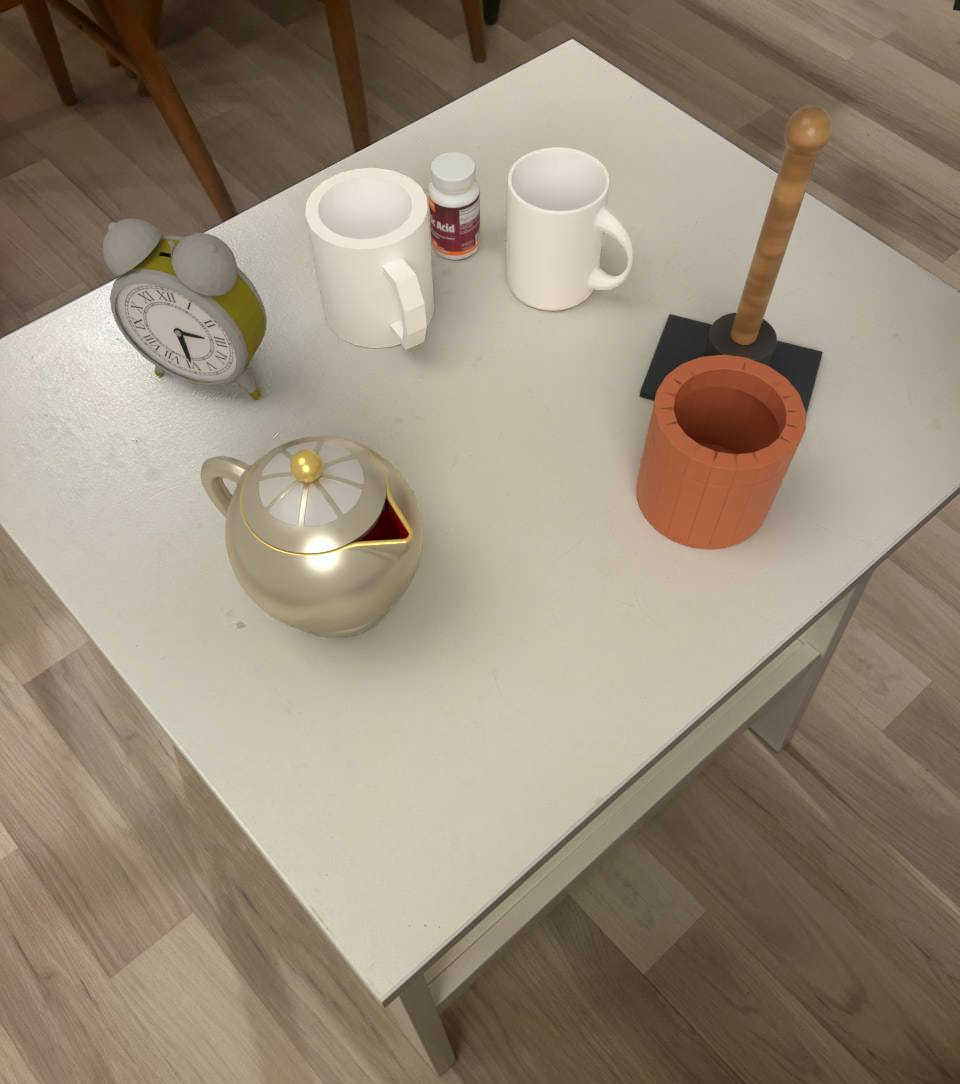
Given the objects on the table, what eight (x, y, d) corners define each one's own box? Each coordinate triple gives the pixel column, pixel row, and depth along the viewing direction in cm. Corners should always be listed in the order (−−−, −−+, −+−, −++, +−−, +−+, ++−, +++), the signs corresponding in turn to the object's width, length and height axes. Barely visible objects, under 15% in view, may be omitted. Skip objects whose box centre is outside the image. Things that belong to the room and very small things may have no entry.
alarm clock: (141, 385, 82) (73, 241, 69) (175, 331, 85) (116, 183, 72) (262, 414, 80) (216, 272, 67) (292, 358, 83) (254, 212, 70)
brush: (777, 382, 81) (876, 121, 60) (722, 403, 80) (803, 145, 59) (742, 339, 83) (825, 75, 62) (688, 359, 82) (755, 97, 61)
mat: (821, 356, 83) (823, 351, 82) (799, 438, 79) (801, 433, 78) (668, 318, 85) (669, 313, 85) (639, 396, 81) (640, 391, 80)
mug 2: (602, 340, 84) (616, 240, 75) (488, 292, 87) (488, 190, 78) (645, 283, 87) (663, 180, 78) (534, 239, 91) (539, 134, 81)
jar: (795, 520, 75) (836, 437, 66) (678, 568, 73) (704, 490, 64) (723, 426, 79) (752, 337, 70) (612, 469, 77) (628, 383, 68)
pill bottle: (421, 244, 90) (415, 165, 83) (456, 221, 92) (453, 141, 84) (455, 268, 89) (451, 189, 81) (490, 244, 90) (490, 165, 83)
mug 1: (473, 343, 84) (471, 244, 75) (374, 388, 82) (359, 291, 72) (401, 256, 90) (391, 153, 80) (306, 295, 87) (284, 194, 78)
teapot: (468, 565, 73) (462, 424, 58) (377, 705, 67) (346, 587, 53) (279, 478, 77) (230, 327, 63) (178, 603, 72) (99, 468, 57)
